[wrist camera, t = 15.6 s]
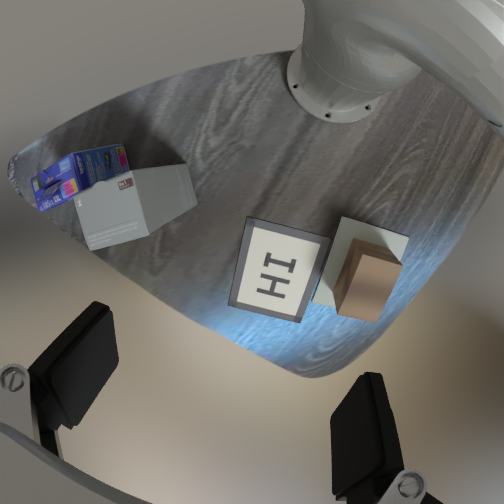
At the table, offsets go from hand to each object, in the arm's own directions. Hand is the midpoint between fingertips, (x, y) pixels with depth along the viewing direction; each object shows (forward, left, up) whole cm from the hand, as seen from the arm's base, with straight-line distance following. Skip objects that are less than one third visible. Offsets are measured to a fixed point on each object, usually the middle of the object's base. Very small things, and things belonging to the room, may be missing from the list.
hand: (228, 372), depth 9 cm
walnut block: (+7, +15, -30) cm, 34 cm away
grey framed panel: (+11, +3, -30) cm, 32 cm away
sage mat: (+7, +15, -30) cm, 34 cm away
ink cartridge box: (+1, -27, -31) cm, 41 cm away
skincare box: (+2, -15, -30) cm, 34 cm away
